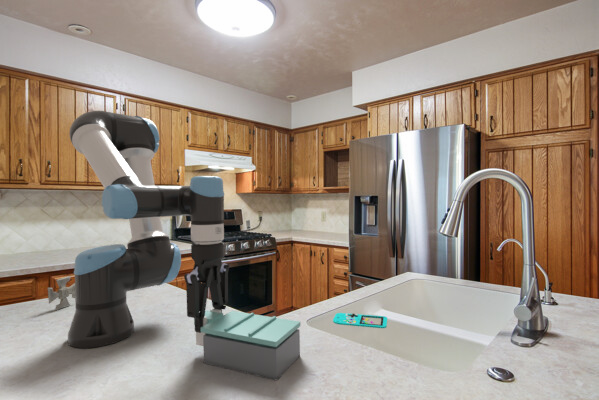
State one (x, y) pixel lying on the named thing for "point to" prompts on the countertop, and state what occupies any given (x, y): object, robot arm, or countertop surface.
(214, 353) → the tub
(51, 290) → the cross
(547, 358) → the countertop surface
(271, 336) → the lid
